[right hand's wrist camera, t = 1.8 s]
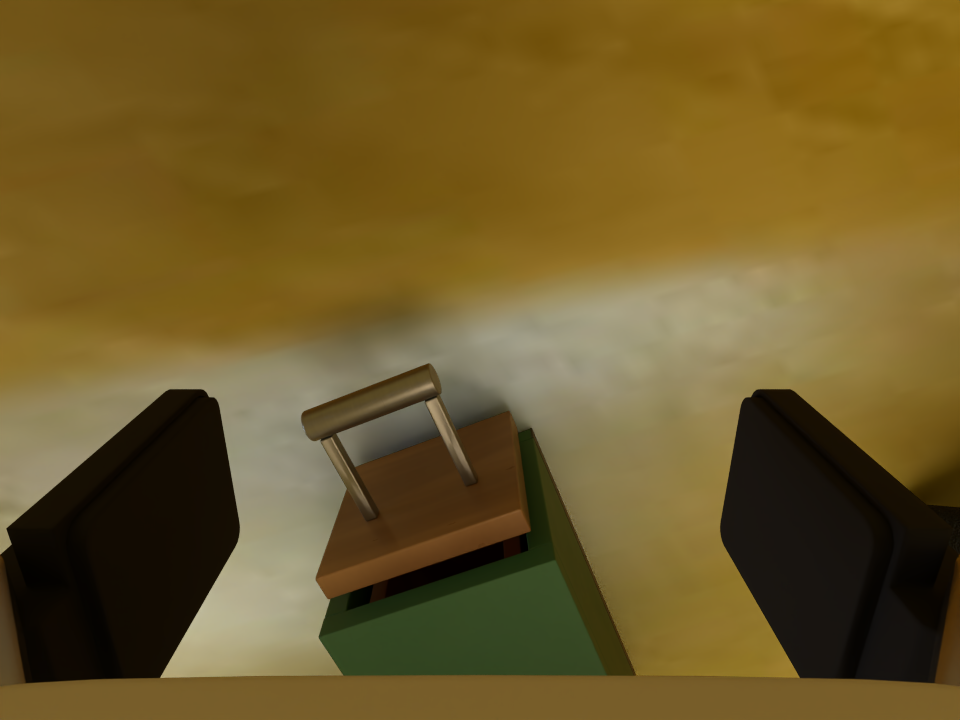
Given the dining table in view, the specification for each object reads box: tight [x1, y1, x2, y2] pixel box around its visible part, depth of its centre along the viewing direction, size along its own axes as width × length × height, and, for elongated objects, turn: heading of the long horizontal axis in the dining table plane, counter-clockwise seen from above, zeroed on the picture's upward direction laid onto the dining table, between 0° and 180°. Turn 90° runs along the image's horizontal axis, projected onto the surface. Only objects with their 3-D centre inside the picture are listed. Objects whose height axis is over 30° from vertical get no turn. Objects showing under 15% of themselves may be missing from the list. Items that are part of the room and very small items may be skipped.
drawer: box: [301, 363, 531, 603], centre depth 31 cm, size 24×9×9 cm, turn 22°
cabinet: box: [319, 428, 636, 676], centre depth 33 cm, size 20×10×11 cm, turn 22°
